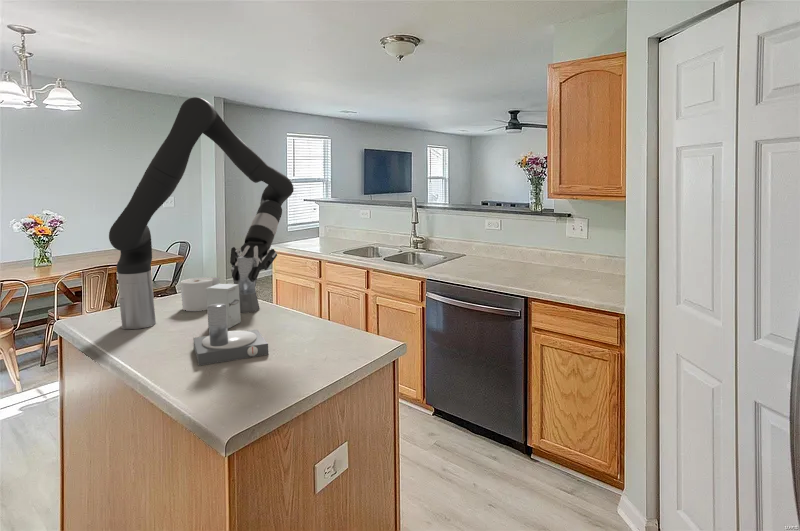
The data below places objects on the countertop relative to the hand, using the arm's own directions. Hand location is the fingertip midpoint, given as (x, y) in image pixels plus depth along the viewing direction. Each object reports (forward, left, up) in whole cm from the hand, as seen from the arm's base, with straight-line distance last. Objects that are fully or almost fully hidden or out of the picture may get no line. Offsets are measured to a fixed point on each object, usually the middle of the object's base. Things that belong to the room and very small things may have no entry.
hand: (243, 279), depth 136 cm
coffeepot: (+6, +36, -18) cm, 41 cm away
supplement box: (-3, +19, -18) cm, 26 cm away
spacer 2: (+1, +2, -4) cm, 5 cm away
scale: (-5, -7, -18) cm, 20 cm away
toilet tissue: (-8, +46, -18) cm, 50 cm away
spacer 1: (-8, -10, -14) cm, 19 cm away
